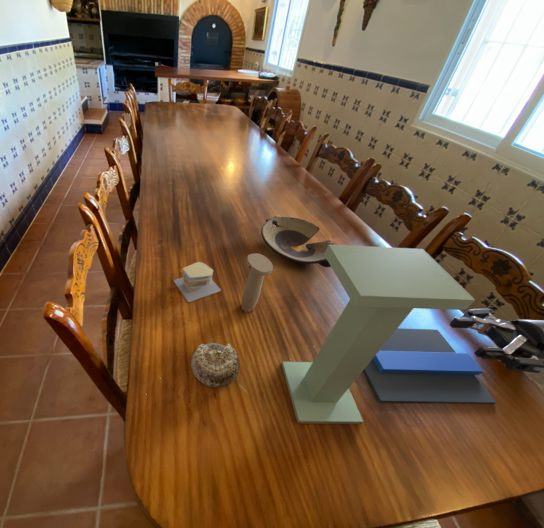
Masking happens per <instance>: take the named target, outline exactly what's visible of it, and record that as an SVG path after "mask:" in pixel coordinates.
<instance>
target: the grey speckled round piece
mask: <svg viewBox="0 0 544 528" xmlns="http://www.w3.org/2000/svg"><path fill="white" fill-rule="evenodd" d="M190 368H191V371H192V374H193V375H194V376H195V378H196V379H197V380H198V382H200V383H201V384H203V385H205V386H207V387H210V388H214V389H215V388H218V389H219V388H224V387H225V386H226V387H227V386H228V385H230V384H232V383H233V382H234V381H235V379H236V378H237V376H238V374H239V370H240V365H239V356H238V353H237V351H236V349H235V348H234V347H233V346H232V345H231V344H230V343H227V344H226V345H223V344H220V343H216V342H214V343H212V342H210V343H206V344H204V343H200V344H199V345H198V346H197V348H196V349H195V351H194V352H193V354H192V357H191V359H190Z"/></svg>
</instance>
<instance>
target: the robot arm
mask: <svg viewBox="0 0 544 528" xmlns="http://www.w3.org/2000/svg"><path fill="white" fill-rule="evenodd" d="M494 313H495V310H494V309H492V308H473V309H471V308H470V309H468V310H466V312H465V313H464V314H463V315H462V316H455V317H454V318H453V319H452V320H451V321H450V323H449V326H450V327H451V328H452V329H471V330H474V331H476V332H477V333H478V334H480V335H483V336H485V337H488V338H490V339H491V340H492V341H493V342H494V344H495V345H496V346H497V347H493V346H491V347H490V346H482V347H479V348H478V349H477V350H476V351H475V352H473V354H474V355H475V356H476V358H481V359H483V360H496V361H498V362H502V363H504V367H505V368H506V369H507V370H509V371H515V372H516V371H517V372H525V373H531V374H532V373H533V374H539V373H541V372H543V371H544V319H542V320H541V319H515V320H510V321H507V320H504V319H499V318H497V317H496V316H495V315H493V314H494ZM476 323H478V324H476ZM512 354H513V355H515V356H513V355H512Z"/></svg>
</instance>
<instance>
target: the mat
mask: <svg viewBox="0 0 544 528" xmlns="http://www.w3.org/2000/svg"><path fill="white" fill-rule="evenodd" d="M379 351H404V352H440V353H457V351H455V349H454V348H453V347H452V346H451V344H450V343H449V342H448V341H447V340H446V338H445V337H444V336H443V334H442V333H441V331H439V329H435V328H433V329H431V328H403V327H402V328H399V327H398V328H397V329H396V331H395V332H394V333H393V334H392V336H391V337H390V338H389V339H388V340H387V342H386V343H385V344H384V345H383V347H382V348H381V349H380V350H379ZM363 372H364V374H365V377H366V378H367V380H368V382H369V384H370V386H371V388H372V390H373V392H374V394H375V396H376V398H377V400H378V401H379V403H404V404H405V403H412V404H413V403H414V404H473V405H475V404H476V405H477V404H481V405H496V404H497V401H496V400H495V399H494V398H493V396H492V395H491V394H490V393H489V392H488V390H487V389H486V388H485V386H484V385H483V384H482V383H481V381H480V380H479V379H478V378H477V376H476V375H459V374H417V373H381V372H380V371H379V369H378V367H377V365H376V363H375V362H374V360H373V359H372V360H371V361H370V363H369V364H368V365H367V366H366V368H365V369H364V370H363Z"/></svg>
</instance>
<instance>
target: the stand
mask: <svg viewBox="0 0 544 528" xmlns="http://www.w3.org/2000/svg"><path fill="white" fill-rule="evenodd" d="M324 255H325V257H326V259H327V260H328V262H329V264H330V265H331V267H330V268H331V269H332V270H333V272H334V274H335V276H336V277H337V279H338V281H339V282H340V284H341V286H342V288H343V289H344V291H345V292H346V295H347V296H348V298H349V300H348V302H347V303H346V305H345V307H344V308H343V311H342V312H341V313H340V315H339V318H338V319H337V320H336V323H335V324H334V326H333V327H332V329H331V331H330V332H329V334H328V336H327V337H326V339H325V341H324V342H323V344H322V346H321V347H320V349H319V351H318V353H317V354H316V356H315V358H314V359H313V361H281V368H282V372H283V375H284V379H285V383H286V386H287V390H288V393H289V397H290V400H291V405H292V408H293V411H294V415H295V418H296V422H297V424H313V425H314V424H321V425H323V424H326V425H362V424H363V423H364V420H363V417H362V415H361V412H360V411H359V409H358V406H357V403H356V401H355V399H354V397H353V395H352V392H351V390H350V387H352V386H353V384H354V382H356V380H357V379H358V378H359V376H360V375H361V374H362V372H364V369H365V368H366V366H367V365H368V364H369V363H370V361H371V360H372V359H373V358H374V356H375V355H376V354H377V353H378V352H379V350H380V349H381V348H382V347H383V345H384V344H385V343H386V342H387V340H388V339H389V338H390V337H391V336H392V334H393V333H394V332H395V331H396V329H397V328H399V327H400V326H401V324H402V323H403V322H404V321H405V320H406V318H407V317H408V316H409V315H410V314H411V312H412V311H413V310H414V309H423V310H424V309H425V310H452V311H453V310H454V311H455V310H456V311H467V309H469V307H470V306H471V305H472V304H473V303H474V302H475V301H476V299H475V297H473V296H472V295H471V294H470V293H469V292H468V291H467V289H465V288H464V287H463V286H462V285H461V284H460V283H459V282H458V281H457V280H455V278H454V277H453V276H451V274H449V273H448V272H447V270H445V269H444V268H443V267H442V266H441V265H440V264H439V263H438V262H437V261H436V260H435V259H434V258H433V257H432V256H431V255H430V254H429V253H428V252H426V250H425V249H424V248H410V247H390V246H389V247H387V246H366V245H345V244H334V245H328V247H327V249H326V251H325V254H324Z"/></svg>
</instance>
